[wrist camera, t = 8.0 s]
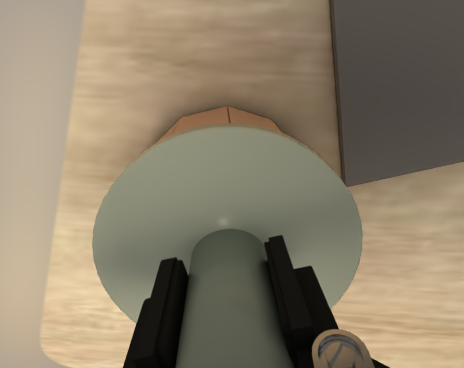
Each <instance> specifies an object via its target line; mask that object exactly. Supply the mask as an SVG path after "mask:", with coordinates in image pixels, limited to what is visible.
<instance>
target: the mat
mask: <svg viewBox="0 0 464 368" xmlns="http://www.w3.org/2000/svg"><path fill="white" fill-rule="evenodd" d="M330 8H331V22H332V36H333V50H334V64H335V78H336V93H337V107H338V121H339V135H340V149H341V163H342V177H343V183H344V184H345V185H346V187H349V186H354V185H358V184H363V183H367V182H372V181H377V180H381V179H386V178H390V177H395V176H400V175H404V174H409V173H413V172H418V171H423V170H427V169H432V168H436V167H441V166H445V165H450V164H455V163H459V162H464V0H330Z"/></svg>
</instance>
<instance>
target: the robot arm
mask: <svg viewBox="0 0 464 368" xmlns="http://www.w3.org/2000/svg"><path fill="white" fill-rule="evenodd" d="M268 239H269V242H264V246H265V251H266V255H267V260H268V264H269V269H270V273H271V278H272V282H273V287H274V291H275V295H276V300H277V304H278V309H279V313H280V317H281V322H282V326H283V331H284V335H285V340H286V344H287V348H288V353H289V356H290V358H291V360H292V362H293V365H294V368H389V367H387V366H385V365H384V364H382V363H380V362H378V361H376V360H374V359H372V358H371V357H370V354H369V351H368V349H367V348H366V346H365V344H364V343H363V342H362V341H361V340H360V339H359V338H358V337H357V336H355V335H354V334H352V333H351V332H348V331H345V330H340V329H339V328H338V326H337V323H336V321H335V319H334V316H333V314H332V312H331V309H330V307H329V305H328V302H327V300H326V298H325V295H324V293H323V291H322V288H321V286H320V284H319V281H318V279H317V277H316V274H315V272H314V270H313V268H312V266H311V265H310V266H305V267H300V268H296V269H294V268H293V265H292V262H291V259H290V256H289V253H288V250H287V247H286V244H285V241H284V238H283V236H282V235H279V236H274V237H269V238H268ZM187 282H188V274H187V271H186V268H185V266H184V263H183V261H182V260H178V259H177V258H176V257H174V258H169V259H164V260H161V262H160V265H159V269H158V272H157V276H156V279H155V283H154V286H153V290H152V293H151V297H150V298H147V299H145V300H144V302H143V304H142V308H141V311H140V314H139V317H138V321H137V324H136V327H135V330H134V334H133V337H132V340H131V343H130V346H129V350H128V353H127V356H126V359H125V363H124V366H123V368H175V366H176V359H177V352H178V345H179V338H180V331H181V324H182V317H183V310H184V303H185V296H186V289H187Z"/></svg>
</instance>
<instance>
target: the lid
mask: <svg viewBox="0 0 464 368" xmlns="http://www.w3.org/2000/svg"><path fill="white" fill-rule="evenodd" d="M279 235H282V236H283V238H284V241H285V244H286V247H287V250H288V253H289V256H290V259H291V262H292V265H293V268H294V269H296V268H300V267H305V266H310V265H311V266H312V268H313V270H314V272H315V274H316V277H317V279H318V281H319V284H320V286H321V288H322V291H323V293H324V295H325V298H326V300H327V302H328V305H329V307H330V309H331V308H332V307H333V306H334V305H335V304H336V303H337V302H338V301H339V300H340V298H341V297H342V296H343V294H344V293H345V291H346V290H347V289H348V287H349V285H350V283H351V281H352V279H353V277H354V275H355V273H356V270H357V267H358V264H359V261H360V256H361V251H362V235H363V234H362V226H361V219H360V216H359V212H358V209H357V206H356V203H355V201H354V199H353V197H352V195H351V193H350V191H349V190H348V188H347V187H346V185H345V184H344V183H343V181H342V180H341V178H340V177H339V176H338V175H337V174H336V173H335V172H334V171H333V170H332V169H331V168H330V167H329V166H328V164H327V163H326V162H325V161H324V160H323V159H322V158H321V157H320V156H319V155H318V154H317V153H315V152H314V151H313V150H311V149H310V148H309V147H307V146H306V145H305V144H303V143H301V142H300V141H298V140H296V139H294V138H292V137H291V136H289V135H286V134H284V133H281V132H278V131H276V130H273V129H270V128H266V127H261V126H257V125H252V124H242V123H214V124H208V125H202V126H196V127H193V128H189V129H186V130H183V131H180V132H177V133H175V134H172V135H170V136H168V137H166V138H164V139H162V140H160V141H158V142H157V143H155V144H154V145H152V146H150V147H149V148H147V149H146V150H145V151H144V152H142V153H141V154H140V155H139V156H138V157H137V158H135V159H134V160H133V161H132V162H131V163H130V165H129V166H128V167H127V168H126V169H125V170H124V172H123V173H122V174H121V175H120V176H119V178H118V179H117V180H116V181H115V183H114V184H113V185H112V186H111V188H110V190H109V191H108V193H107V195H106V196H105V198H104V199H103V201H102V204H101V206H100V209H99V211H98V213H97V216H96V221H95V225H94V229H93V244H92V247H93V256H94V262H95V266H96V269H97V273H98V275H99V278H100V280H101V282H102V284H103V286H104V288H105V290H106V291H107V293H108V294H109V296H110V298H111V299H112V300H113V301H114V303H115V304H116V305H117V306H118V307H119V308H120V310H121V311H123V312H124V313H125V314H126V315H127V316H128V317H129V318H130V319H131V320H133V321H134V322H136V323H137V321H138V317H139V314H140V311H141V308H142V304H143V302H144V300H145V299H147V298H150V297H151V293H152V290H153V286H154V283H155V279H156V276H157V272H158V269H159V265H160V262H161V260H164V259H169V258H174V257H176V258H177V259H178V260H182V261H183V263H184V266H185V268H186V271H187V274H188V282H187V289H186V296H185V303H184V310H183V317H182V324H181V331H180V338H179V345H178V352H177V359H176V366H175V368H294V365H293V362H292V360H291V358H290V356H289V353H288V348H287V344H286V340H285V335H284V331H283V326H282V322H281V317H280V313H279V309H278V304H277V300H276V295H275V291H274V287H273V282H272V278H271V273H270V269H269V264H268V260H267V255H266V251H265V246H264V242H269V239H268V238H269V237H274V236H279Z"/></svg>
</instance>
